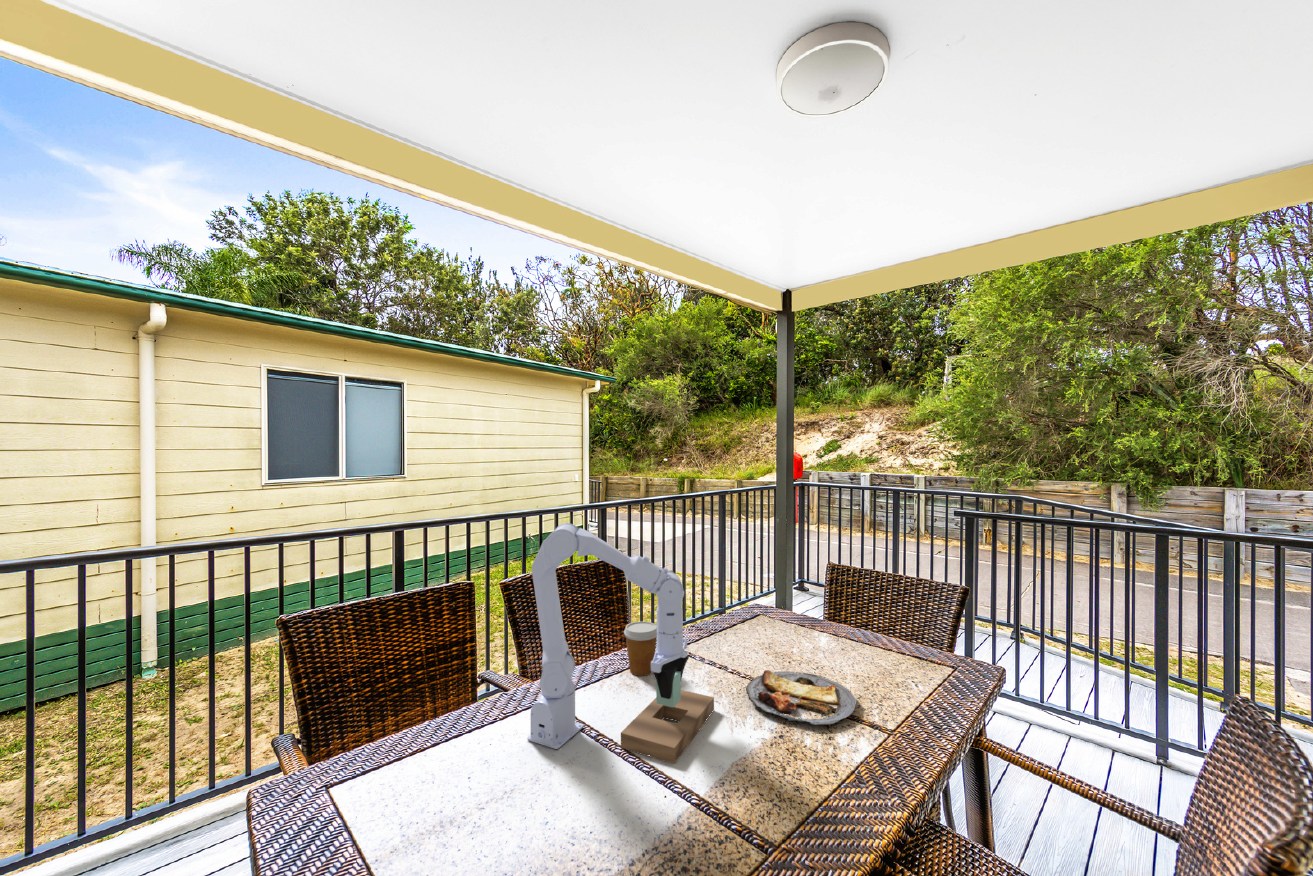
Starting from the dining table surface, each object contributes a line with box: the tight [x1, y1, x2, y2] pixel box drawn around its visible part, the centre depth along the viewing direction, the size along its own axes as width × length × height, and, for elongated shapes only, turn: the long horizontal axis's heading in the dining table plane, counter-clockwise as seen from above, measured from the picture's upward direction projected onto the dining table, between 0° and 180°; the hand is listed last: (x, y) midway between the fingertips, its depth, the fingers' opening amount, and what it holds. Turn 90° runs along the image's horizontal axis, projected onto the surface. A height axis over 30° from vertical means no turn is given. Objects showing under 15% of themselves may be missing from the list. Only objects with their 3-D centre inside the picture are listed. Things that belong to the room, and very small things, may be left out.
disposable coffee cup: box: [623, 621, 657, 677], centre depth 137 cm, size 10×10×12 cm
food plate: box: [745, 669, 857, 726], centre depth 120 cm, size 25×23×4 cm
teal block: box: [655, 671, 682, 707], centre depth 109 cm, size 4×4×6 cm
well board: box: [620, 689, 715, 765], centre depth 109 cm, size 22×12×3 cm, turn 153°
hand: (670, 692), depth 109 cm, fingers closed on teal block, 4 cm apart
